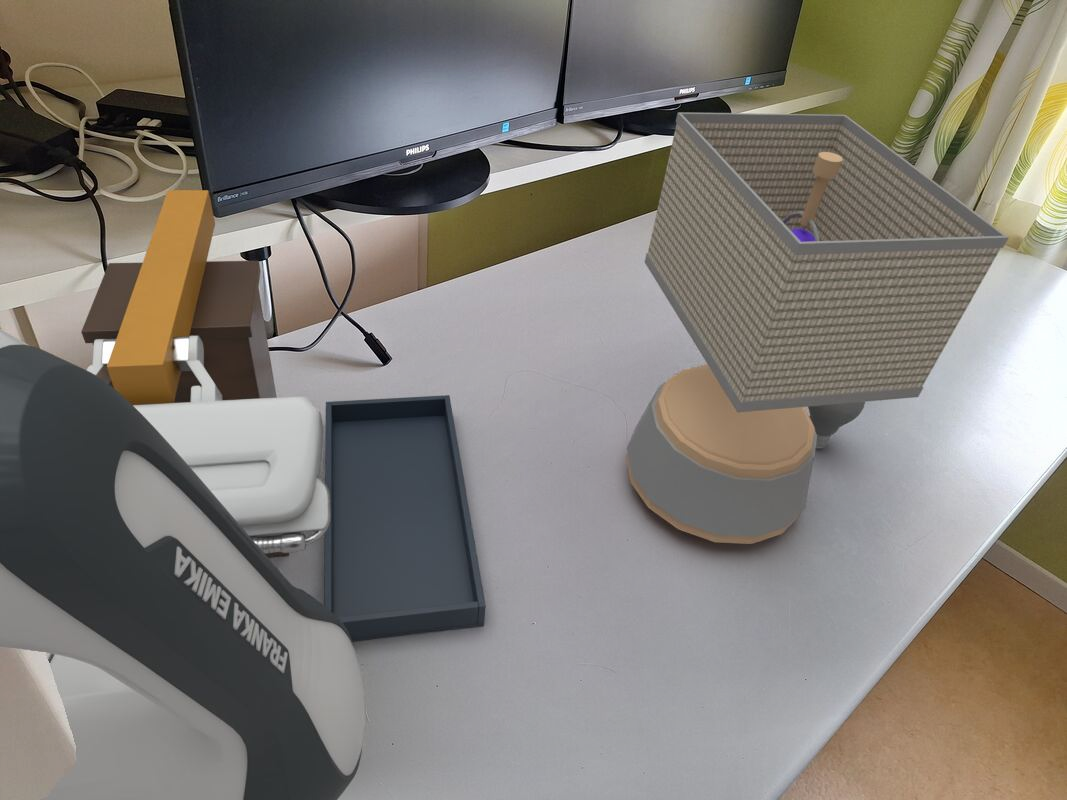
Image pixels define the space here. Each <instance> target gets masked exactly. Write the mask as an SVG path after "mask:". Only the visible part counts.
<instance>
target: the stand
mask: <svg viewBox="0 0 1067 800" xmlns="http://www.w3.org/2000/svg"><path fill="white" fill-rule="evenodd" d="M142 264H143V262H109V263H108V264H107V266H106V269H105V271H104V274H103V277H102V279H101V282H100V284H99V287H98V288H97V292H96V294H95V297H94V299H93V302H92V304H91V306H90V309H89V311H88V314H87V317H86V319H85V321H84V323H83V326H82V328H81V335H82V338H83V340H84V343H85V344H92V346H93V347H94V341H95V340H96V339H117V336H118V333H119V330H120V327H121V324H122V321H123V319H124V316H125V313H126V310H127V307H128V304H129V301H130V298H131V295H132V293H133V290H134V287H135V284H136V281H137V278H138V275H139V272H140V269H141V267H142ZM260 279H261V266H260V260H218V261H217V260H213V261H208V260H207V261H206V266H205V270H204V274H203V279H202V283H201V287H200V292H199V296H198V300H197V305H196V309H195V313H194V318H193V322H192V326H191V331H190V335H189V336H199V337H200V339H201V340H202V342H203V348H204V368H205V370H206V371H207V373H208V374H209V376H210V377H211V379H212V380H213V382H214V383H215V385H216V386H217V388H218V390H219V391H220V393H221V394H222V400H241V399H260V398H278V396H277V389H276V385H275V384H276V383H275V379H274V378H275V377H274V372H273V367H272V366H273V365H272V360H271V355H270V348H269V343H268V336H267V330H266V326H265V325H266V324H265V318H264V312H263V305H262V299H261V295H260V289H259V288H260ZM109 385H110V386H111V387H113V388H114V386H113V383H112V381H110V382H109ZM193 386H200V387H201V384H200V382H199V381H198V379H197V377H196V376H195V374H194V373H193V371H181V374H180V378H179V382H178V387H177V391H176V395H175V400H174V403H185V402H191V388H192V387H193ZM161 404H166V403H161ZM142 405H147V404H142ZM275 536H281V535H275ZM264 537H269V536H264ZM273 537H274V536H273ZM264 554H265V553H264ZM265 555H266V556H267V557H268V558H274V557H284V556H289V555H290V553H282V552H274V553H268V554H265Z"/></svg>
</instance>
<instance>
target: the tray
mask: <svg viewBox="0 0 1067 800" xmlns="http://www.w3.org/2000/svg"><path fill="white" fill-rule="evenodd" d="M324 441H325V444H324V445H325V447H324V449H325V450H324V451H325V452H324V453H325V455H324V482H325V484H326V485H327V487H328V490H329V493H330V509H331V519H330V523H329V526H328V529H327V530H326V532H325V533H324V553H323V554H324V556H323V558H324V563H323V565H324V566H323V567H324V570H323V574H324V575H323V605H324V606H326V607H327V608H328V609H329V610H330V611H331V612H332V613H333V614H334V615H335V616H336V617H337V618H338V619H339V620H340V621H341V622H342V623H343V624H344V626H345V627H346V629H347V631H348V633H349V635H350V637H351V640H352V642H358V641H367V640H375V639H384V638H392V637H399V636H400V637H401V636H410V635H417V634H418V635H419V634H426V633H434V632H442V631H450V630H451V631H452V630H459V629H469V628H477V627H484V625H485V616H486V607H487V606H486V599H485V595H484V587H483V582H482V576H481V571H480V570H481V569H480V565H479V558H478V554H477V547H476V541H475V536H474V529H473V525H472V524H473V523H472V518H471V511H470V507H469V501H468V495H467V490H466V484H465V478H464V472H463V465H462V460H461V454H460V449H459V443H458V438H457V431H456V427H455V419H454V413H453V408H452V402H451V397H450V394H445V395H428V396H427V395H425V396H408V397H407V396H406V397H390V398H388V397H387V398H371V399H369V398H368V399H354V400H352V399H351V400H334V401H326V402H325V440H324Z"/></svg>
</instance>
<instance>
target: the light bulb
mask: <svg viewBox="0 0 1067 800" xmlns="http://www.w3.org/2000/svg"><path fill="white" fill-rule="evenodd" d="M865 405H866V402H855V403H843V404H832V405H820V406H808V407H807V408H808V414H809V416H810V419H811V421H812V423H813V425H814V428H815V432H816V434H817V440H816V447H815V449H824V448H826V447H827V445H828V443H829V441H830V439H831V438H832V436H833V435H834V434H835V433H837V432H838V430H839V429H840V428H841V427H843V426H845V425H847V424H849V423H851V422H853V421H854V420H856V419H857V418H858V417H859V415H860V414H861V413H862V412H863V410H864V408H865Z"/></svg>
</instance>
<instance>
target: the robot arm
mask: <svg viewBox="0 0 1067 800" xmlns="http://www.w3.org/2000/svg"><path fill="white" fill-rule="evenodd" d="M115 342H116V339H96V340H95V341H94V346H93V348H92V364H90V365H88V367H87V368H86V369H84V367H83V368H82V367H80V366H78V365H76V364H75V363H72V362H70V361H68V360H66V359H63V358H61V357H60V356H57V355H55V354H53V353H50V352H49V351H46V350H44V349H42V348H40V347H37V346H33V345H30V344H28V343H26V342H24V341H22V340H20V339H19V338H17V337H15V336H14V335H12V334H10V333H8V332H6V331H5V330H3V329H1V328H0V648H13V649H22V650H30V651H38V652H46V656H47V659H48V661H49V663H50V667H51V670H52V673H53V676H54V680H55V683H56V685H57V689H58V692H59V694H60V697H61V699H62V702H63V705H64V708H65V712H66V715H67V719H68V722H69V726H70V729H71V731H72V734H73V738H74V742H75V745H76V758H77V760H76V762H75V763H74V765H72V766H73V767H71V768H69V769H68V772H67V773H66V774H64V775H65V776H63V777H62V778H59V779H60V781H59V782H56V785H55V786H54V787H53V789H52V790H51V791H50V794H49V795H48V797H46V798H43V799H40V800H339V798H340V797H341V796H342V794H343V793H344V792H345V791H346V789H347V788H348V787H349V786H350V784H351V782H352V781H353V779H354V778H355V776H356V775H357V772H358V769H359V766H360V763H361V759H362V752H363V743H364V738H365V730H366V715H367V706H366V705H367V704H366V702H367V701H366V691H365V680H364V675H363V671H362V667H361V662H360V659H359V656H358V653H357V652H356V649H355V646H354V642H353V641H352V640H351V637H350V635H349V633H348V631H347V629H346V627H345V626H344V624H343V623H342V622H341V621H340V620H339V619H338V618H337V617H336V616H335V615H334V614H333V613H332V612H331V611H330V610H329V609H328V608H327V607H326V606H324V603H322V602H321V601H320V600H318V599H317V598H315V597H314V596H313V595H312V594H310V593H308V592H307V591H305V590H304V589H302V588H300V587H299V588H298V587H296V586H294V585H293V584H292V583H291V582H290V581H289V580H288V579H287V578H286V577H285V576H284V575H283V574H282V572H281V571H280V570H279V569H278V567H277V566H276V565H275V564H274V563H273V562H272V561H271V559H270V557H267V556H266V555H265V554H268V553H274V552H282V553H289V554H292V553H293V554H294V553H298V552H302V551H305V550H306V548H307V545H309V544H313V543H314V542H316V541H318V540H319V539H320V538H322V536H323V535H325V532H326V530H327V529H328V526H329V523H330V519H331V509H330V493H329V490H328V487H327V485H326V484H325V480H323V479H322V478H321V470H322V469H321V468H322V460H323V447H324V446H323V445H324V444H323V443H324V442H323V439H324V430H323V429H324V425H323V417H322V413H321V411H320V409H319V407H318V406H316V405H315V403H314V402H312V401H311V400H310V399H309V398H308V397H306V396H300V395H299V396H297V395H296V396H282V397H281V396H280V397H277V398H260V399H241V400H222V394H221V393H220V391H219V390H218V388H217V386H216V385H215V383H214V382H213V380H212V379H211V377H210V376H209V374H208V373H207V371H206V370H205V368H204V348H203V342H202V340H201V339H200V337H199V336H181V337H173V346H174V349H173V350H172V361H173V363H174V364H175V365H176V366H177V368H178V370H179V371H193V373H194V374H195V376H196V377H197V379H198V381H199V382H200V384H201V387H200V386H193V387H192V388H191V402H185V403H166V404H147V405H132V404H131V403H130V402H129V401H127V400H126V399H125V398H124V397H123V396H122V395H121V394H120V393H119V392H117V391H116V390H115V389H114V388H113V387H111V386H110V385H109V382H110V381H111V378H110V375H109V372H108V369H107V365H108V362H109V359H110V356H111V353H112V350H113V347H114V344H115ZM307 533H313V534H311V535H309V536H306V534H307ZM275 535H281V536H275ZM264 536H269V537H264ZM273 536H274V537H273ZM264 553H265V554H264Z"/></svg>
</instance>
